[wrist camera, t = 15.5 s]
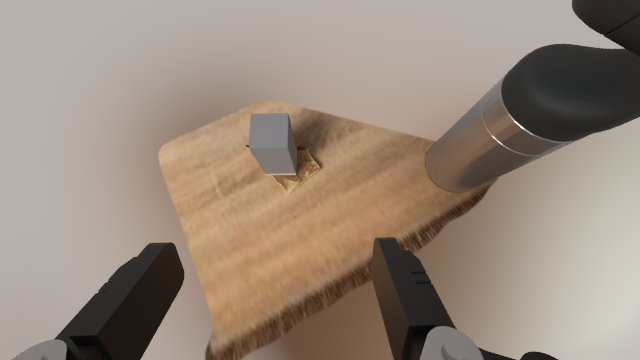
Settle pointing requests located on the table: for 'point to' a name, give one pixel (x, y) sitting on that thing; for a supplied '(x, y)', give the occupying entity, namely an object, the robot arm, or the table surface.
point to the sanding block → (273, 143)
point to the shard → (298, 170)
